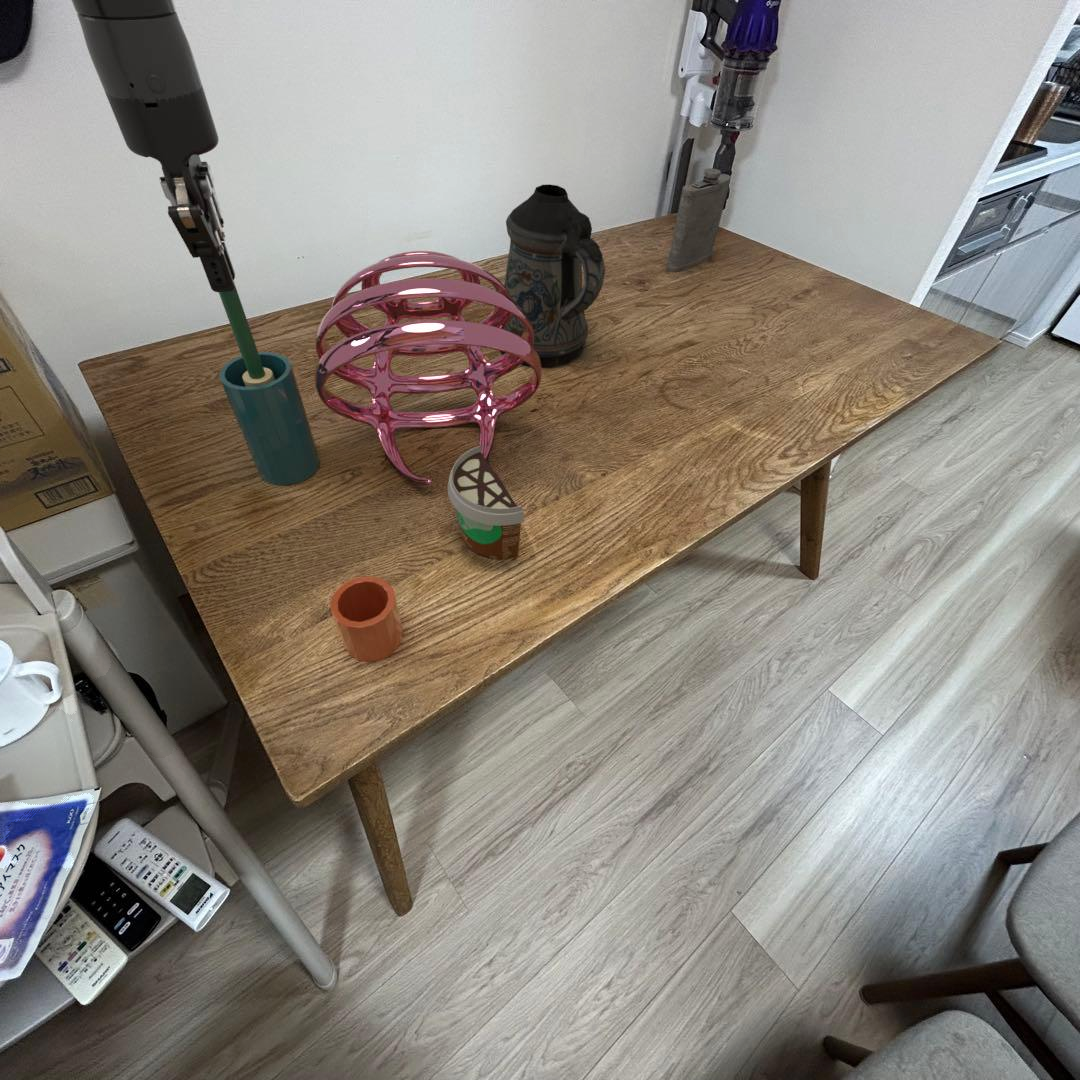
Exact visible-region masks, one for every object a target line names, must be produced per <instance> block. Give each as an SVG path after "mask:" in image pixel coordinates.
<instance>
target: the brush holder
mask: <svg viewBox="0 0 1080 1080" xmlns="http://www.w3.org/2000/svg"><path fill="white" fill-rule="evenodd" d="M330 614H331V616H332V618H333V621H334V624H335V626H336V630H337V632H338V634H339V637H340V640H341V642H342V645H343V647H344V649H345V650H346V652H347V654H348V655H349V656H350V657H352V658H353V659H355V660H357V661H361V662H366V663H371V662H372V663H375V662H378V661H382V660H384V659H386V658H388V657H390V656H391V655H392V654H394V653H395V652H396V651H397V650H398V648H399V647H400V645H401V644H402V641H403V637H404V629H403V628H404V627H403V624H402V619H401V615H400V612H399V606H398V603H397V598H396V593H395V590H394V589H393V587H392V586H391V585H390V583H389V582H388V581H386V580H384V579H382V578H380V577H377V576H369V575H365V576H360V577H355V578H352V579H350V580H349V581H347V582H344V583H342V585H341V586H340V587H339V588H338V589H337V590H335V592H334V593H333V595H332V598H331V600H330Z"/></svg>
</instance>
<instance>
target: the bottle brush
mask: <svg viewBox="0 0 1080 1080" xmlns="http://www.w3.org/2000/svg"><path fill="white" fill-rule="evenodd" d="M200 242H206V241H200ZM223 252H224V251H223ZM224 255H225V254H224ZM225 258H226V257H225ZM226 261H227V260H226ZM227 264H228V263H227ZM228 267H229V266H228ZM229 270H230V269H229ZM230 273H231V272H230ZM231 276H232V275H231ZM218 295H219V297H220V300H221V303H222V306H223V308H224V311H225V314H226V316H227V319H228V322H229V324H230V327H231V330H232V333H233V337H234V339H235V340H236V344H237V346H238V350H239V351H240V354H241V355H240V356H242V357H243V360H244V363H245V365H246V368H247V371H246V372H245V373H244V374H243V377H242V378H243V381H244V383H245V386H246V387H254V386H261V385H265V384H268V383H271V382H273V381H275V379H274V376H273V373H272V371H271V370H270V369H268V368H264V367H263V365H262V362H261V359H260V356H259V353H258V352H259V351H258V347H257V345H256V343H255V339H254V337H253V333H252V330H251V328H250V324H249V321H248V318H247V316H246V312H245V310H244V307H243V304H242V301H241V298H240V295H239V293H238V290H237V287H236V284H235V282H234V289H233V290H232V291H226V292H218Z"/></svg>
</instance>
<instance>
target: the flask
mask: <svg viewBox="0 0 1080 1080" xmlns="http://www.w3.org/2000/svg"><path fill="white" fill-rule="evenodd" d="M703 175H704V176H703V178H702V180H699V181H697V182H694V183H692V184H688V185H683V187H682V191H681V193H680V194H681V195H680V200H679V205H678V210H677V215H676V220H675V224H674V229H673V234H672V240H671V245H670V248H669V249H670V250H669V254H668V259H667V264H666V270H667V271H669V272H673V273H678V272H681V271H685V270H688V269H691V268H693V267H696V266H698V265H700V264H702V263H704V262H706V261H707V260H708V259H710V258H711V257H712V255H713V251H714V247H715V243H716V238H717V234H718V230H719V227H720V224H721V223H720V222H721V220H722V219H721V218H722V214H723V211H724V206H725V203H726V198H727V196H728V195H727V194H728V190H729V186H730V183H731V179H732V176H731V175H729V174H726V173H722V172H721V170H719V169H717V168H711V167H709V168H705V169H704V171H703Z"/></svg>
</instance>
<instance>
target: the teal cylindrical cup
mask: <svg viewBox="0 0 1080 1080" xmlns="http://www.w3.org/2000/svg"><path fill="white" fill-rule="evenodd" d="M258 353H259V356H260V359H261V362H262V365H263V367H264V368H268V369H270V370H271V371H272V373H273V376H274V379H275V381H273V382H271V383H268V384H265V385H261V386H254V387H246V386H245V383H244V381H243V378H242V377H243V374H244V373H245V372H246V371H247V368H246V365H245V363H244V360H243V357H242V355H238V356H237V357H235V358H233V359H230V360H229V361H228V362H227V363H225V364H223V366H222V367H221V369H220V371H219V376H218V377H219V381H220V383H221V385H222V388H223V389H224V393H225V395H226V397H227V400H228V402H229V405H230V407H231V409H232V411H233V414H234V417H235V419H236V422H237V424H238V426H239V429H240V431H241V434H242V436H243V439H244V441H245V443H246V446H247V449H248V450H249V453H250V456H251V459H252V460H253V463H254V465H255V467H256V470H257V472H258V475H259V476H260V478H261V479H262V480H263V481H265V482H266V483H268V484H271V485H276V486H291V485H296V484H299V483H303V482H304V481H306V480H308V479H309V478H311V477H312V476H313V475H314V474H316V472H317V471H318V469H319V468H320V464H321V459H320V456H319V451H318V448H317V445H316V441H315V439H314V436H313V432H312V428H311V425H310V422H309V419H308V416H307V411H306V409H305V405H304V402H303V399H302V396H301V392H300V388H299V386H298V382H297V379H296V376H295V373H294V369H293V365H292V363H291V362H290V360H289V359H288V358H287V357H286V356H284V355H282V354H280V353H275V352H269V351H268V352H267V351H258Z"/></svg>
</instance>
